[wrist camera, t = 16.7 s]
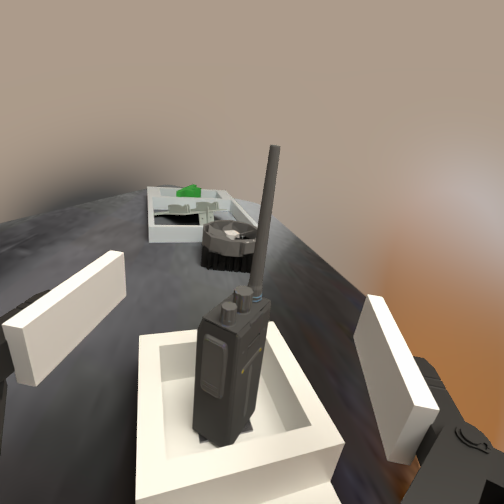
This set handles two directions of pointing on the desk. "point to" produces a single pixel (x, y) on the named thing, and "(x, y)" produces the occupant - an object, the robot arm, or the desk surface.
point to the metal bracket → (194, 211)
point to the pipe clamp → (189, 192)
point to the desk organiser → (190, 233)
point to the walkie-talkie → (235, 342)
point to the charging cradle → (248, 442)
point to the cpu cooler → (228, 244)
